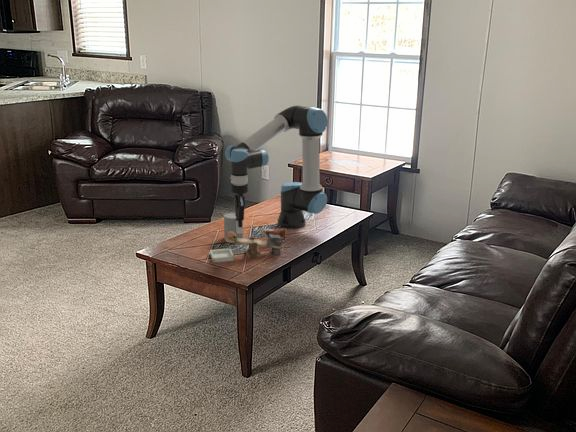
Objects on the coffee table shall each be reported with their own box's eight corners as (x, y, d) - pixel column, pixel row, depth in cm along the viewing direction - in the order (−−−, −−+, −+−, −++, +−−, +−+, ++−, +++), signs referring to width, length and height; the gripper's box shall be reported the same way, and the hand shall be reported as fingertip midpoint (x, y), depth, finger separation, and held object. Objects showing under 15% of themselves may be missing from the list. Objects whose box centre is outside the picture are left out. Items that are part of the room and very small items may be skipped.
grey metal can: (240, 242, 290) (239, 219, 286) (221, 241, 292) (221, 217, 288) (245, 235, 299) (245, 213, 295) (227, 234, 301) (226, 211, 297)
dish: (230, 252, 278) (230, 248, 278) (234, 260, 268) (234, 256, 268) (209, 254, 276) (209, 250, 275) (213, 262, 266) (213, 258, 265)
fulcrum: (257, 250, 280) (257, 236, 278) (261, 257, 273) (261, 242, 270) (245, 251, 279) (244, 237, 277) (248, 258, 271) (248, 243, 269)
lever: (277, 244, 281) (279, 235, 279) (280, 249, 276) (282, 239, 274) (224, 238, 272) (226, 228, 271) (226, 242, 267) (229, 232, 266)
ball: (233, 237, 272) (234, 230, 271) (235, 239, 269) (235, 232, 268) (226, 237, 271) (226, 230, 270) (227, 240, 268) (227, 233, 267)
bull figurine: (259, 243, 290) (259, 227, 287) (284, 239, 295) (284, 224, 292) (262, 246, 286) (262, 230, 283) (287, 242, 291) (288, 227, 288)
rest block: (277, 249, 282) (277, 244, 281) (280, 254, 276) (280, 249, 276) (271, 250, 281) (271, 245, 280) (274, 254, 276) (274, 250, 275)
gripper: (228, 180, 268) (229, 228, 275) (233, 187, 256) (234, 238, 263) (244, 179, 270) (244, 227, 277) (250, 186, 258) (250, 237, 265)
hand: (239, 232), depth 270 cm, fingers closed
